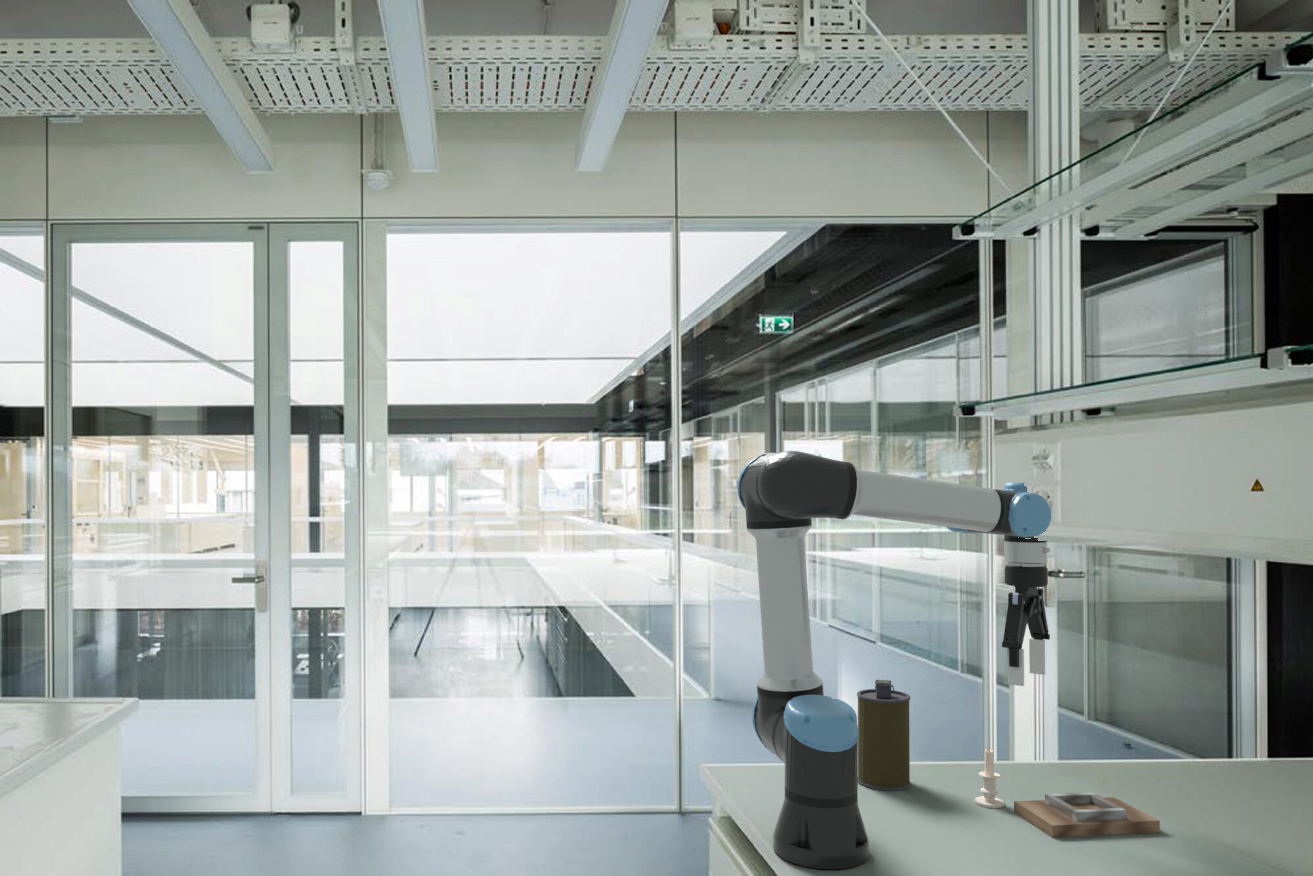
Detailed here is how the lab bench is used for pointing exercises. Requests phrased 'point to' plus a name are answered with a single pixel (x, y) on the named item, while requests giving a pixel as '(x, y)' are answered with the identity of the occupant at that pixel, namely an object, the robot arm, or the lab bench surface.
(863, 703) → the canister
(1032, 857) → the lab bench surface
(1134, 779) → the lab bench surface
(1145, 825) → the board
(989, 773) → the candle
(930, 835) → the lab bench surface
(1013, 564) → the robot arm
